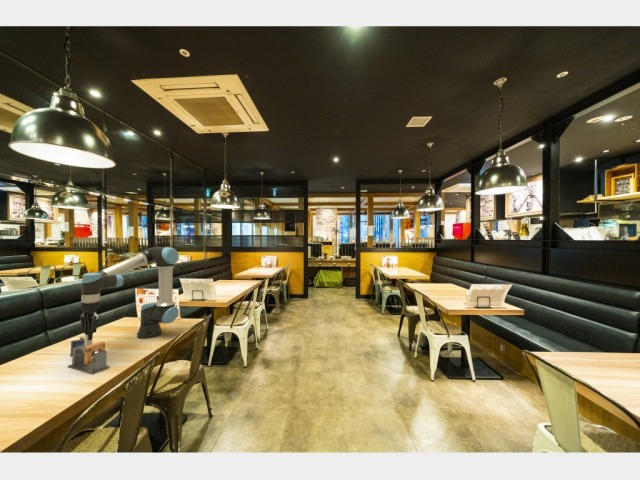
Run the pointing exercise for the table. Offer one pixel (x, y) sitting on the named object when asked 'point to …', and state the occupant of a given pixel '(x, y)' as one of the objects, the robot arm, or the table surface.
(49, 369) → the table surface
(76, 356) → the pipe rail
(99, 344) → the orange square ring
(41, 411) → the table surface
